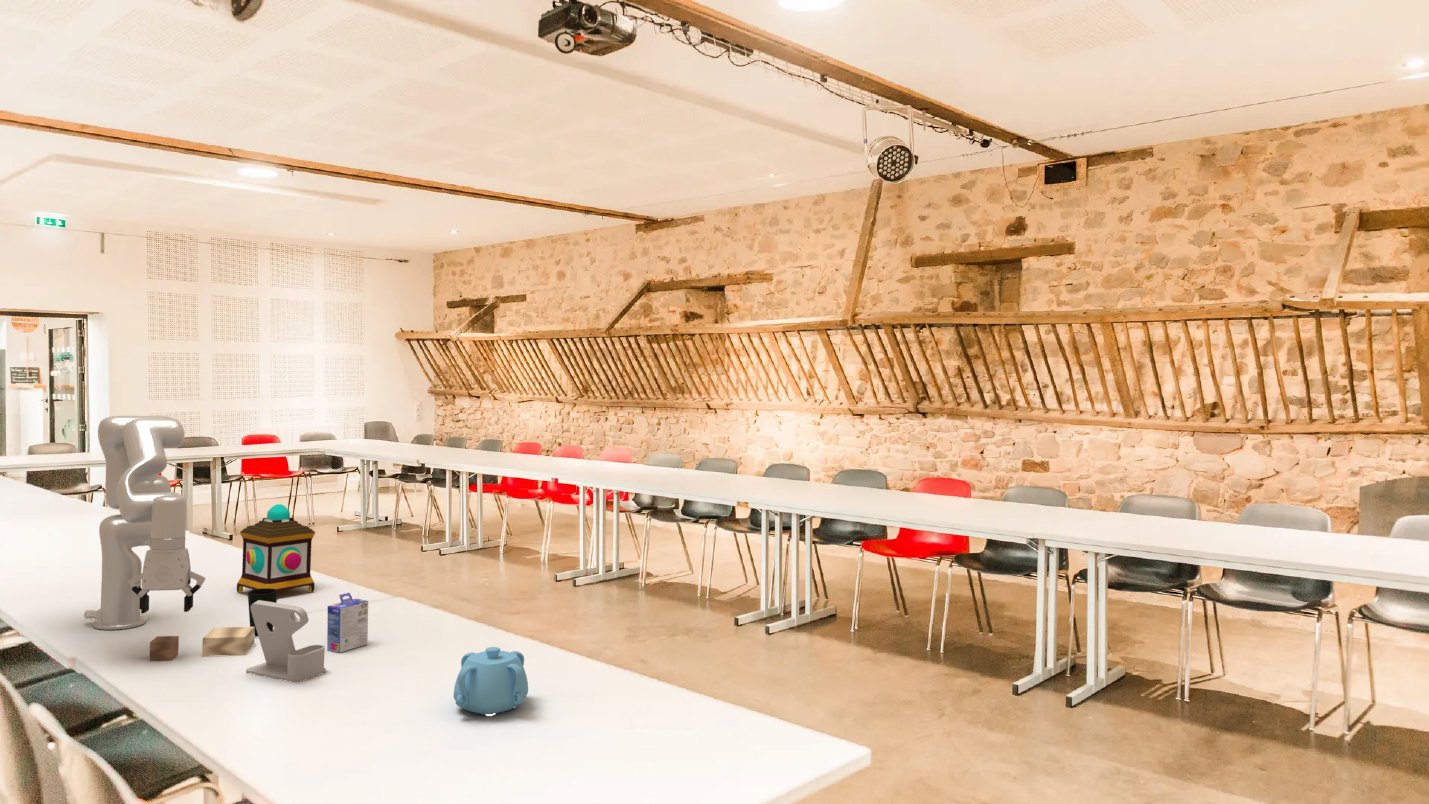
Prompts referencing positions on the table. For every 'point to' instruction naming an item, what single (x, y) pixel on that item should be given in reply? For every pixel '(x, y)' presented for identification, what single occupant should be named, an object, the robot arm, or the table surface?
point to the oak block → (228, 641)
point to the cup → (262, 595)
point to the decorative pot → (491, 681)
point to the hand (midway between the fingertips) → (166, 611)
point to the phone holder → (284, 643)
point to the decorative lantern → (276, 553)
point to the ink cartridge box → (347, 624)
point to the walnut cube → (164, 648)
